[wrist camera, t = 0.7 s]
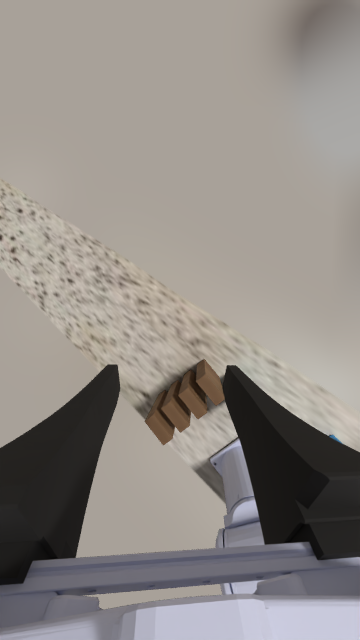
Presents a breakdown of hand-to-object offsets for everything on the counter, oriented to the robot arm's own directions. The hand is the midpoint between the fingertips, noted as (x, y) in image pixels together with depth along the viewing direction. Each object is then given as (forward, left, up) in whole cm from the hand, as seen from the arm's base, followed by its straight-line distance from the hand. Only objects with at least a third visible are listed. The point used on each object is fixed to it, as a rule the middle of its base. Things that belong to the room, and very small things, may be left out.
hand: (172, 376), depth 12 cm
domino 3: (-6, +4, -19) cm, 21 cm away
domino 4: (-6, +1, -19) cm, 20 cm away
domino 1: (-6, +10, -19) cm, 23 cm away
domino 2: (-6, +7, -19) cm, 22 cm away
